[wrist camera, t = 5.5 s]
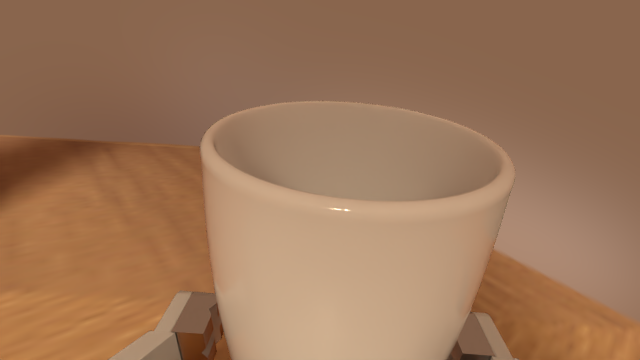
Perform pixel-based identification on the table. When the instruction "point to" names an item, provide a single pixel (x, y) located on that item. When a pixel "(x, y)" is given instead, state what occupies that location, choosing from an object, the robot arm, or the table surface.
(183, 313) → the robot arm
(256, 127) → the drinking glass
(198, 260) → the table surface
